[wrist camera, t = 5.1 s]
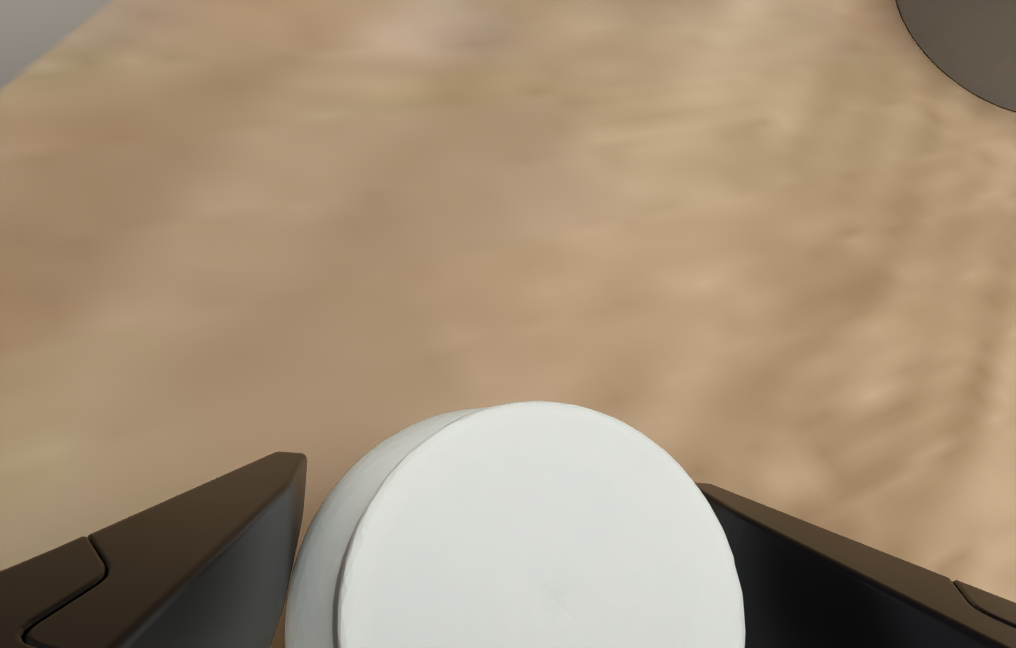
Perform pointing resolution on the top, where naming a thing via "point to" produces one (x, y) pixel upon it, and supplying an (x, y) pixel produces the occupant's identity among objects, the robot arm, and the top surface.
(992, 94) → the coffee mug
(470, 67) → the top surface
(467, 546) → the pill bottle
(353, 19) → the top surface
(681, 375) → the top surface
